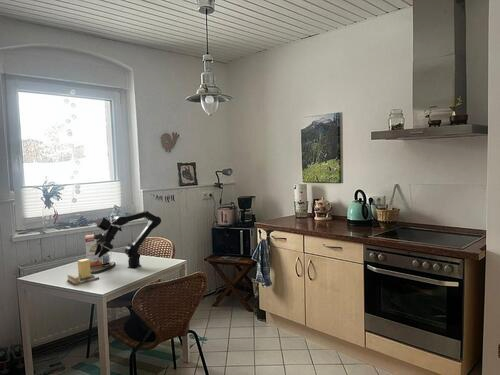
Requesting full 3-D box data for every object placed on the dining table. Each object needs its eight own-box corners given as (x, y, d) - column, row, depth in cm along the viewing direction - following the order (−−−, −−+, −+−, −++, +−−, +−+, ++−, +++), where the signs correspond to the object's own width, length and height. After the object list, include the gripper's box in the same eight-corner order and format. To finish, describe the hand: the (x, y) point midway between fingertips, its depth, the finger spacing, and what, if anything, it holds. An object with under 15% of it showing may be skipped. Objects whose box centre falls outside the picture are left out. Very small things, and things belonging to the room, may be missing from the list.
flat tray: (90, 275, 232) (89, 269, 232) (99, 279, 224) (98, 272, 224) (67, 281, 222) (66, 274, 221) (75, 285, 214) (75, 278, 213)
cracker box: (86, 267, 253) (84, 236, 251) (87, 264, 258) (85, 235, 257) (108, 264, 258) (106, 234, 256) (108, 262, 263) (106, 232, 262)
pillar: (87, 276, 227) (85, 258, 226) (90, 277, 224) (89, 259, 223) (78, 278, 223) (77, 260, 223) (82, 279, 220) (81, 261, 219)
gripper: (95, 226, 241) (82, 248, 236) (103, 229, 226) (88, 252, 221) (110, 234, 247) (97, 256, 242) (119, 238, 232) (105, 260, 227)
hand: (96, 256), depth 233 cm, fingers open, 9 cm apart
